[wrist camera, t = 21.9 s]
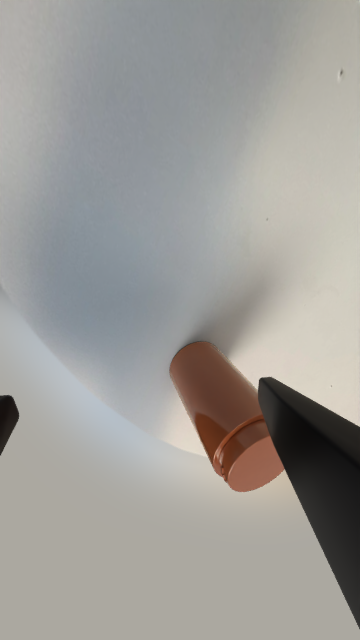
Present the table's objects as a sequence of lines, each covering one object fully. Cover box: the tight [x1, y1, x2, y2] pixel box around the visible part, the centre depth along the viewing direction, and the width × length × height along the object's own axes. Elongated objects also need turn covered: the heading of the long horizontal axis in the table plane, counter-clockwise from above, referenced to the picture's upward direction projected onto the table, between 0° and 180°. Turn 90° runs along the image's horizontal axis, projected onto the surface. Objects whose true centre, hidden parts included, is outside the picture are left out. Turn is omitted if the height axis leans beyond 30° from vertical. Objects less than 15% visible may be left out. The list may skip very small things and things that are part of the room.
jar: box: [170, 342, 284, 492], centre depth 19 cm, size 6×6×11 cm
